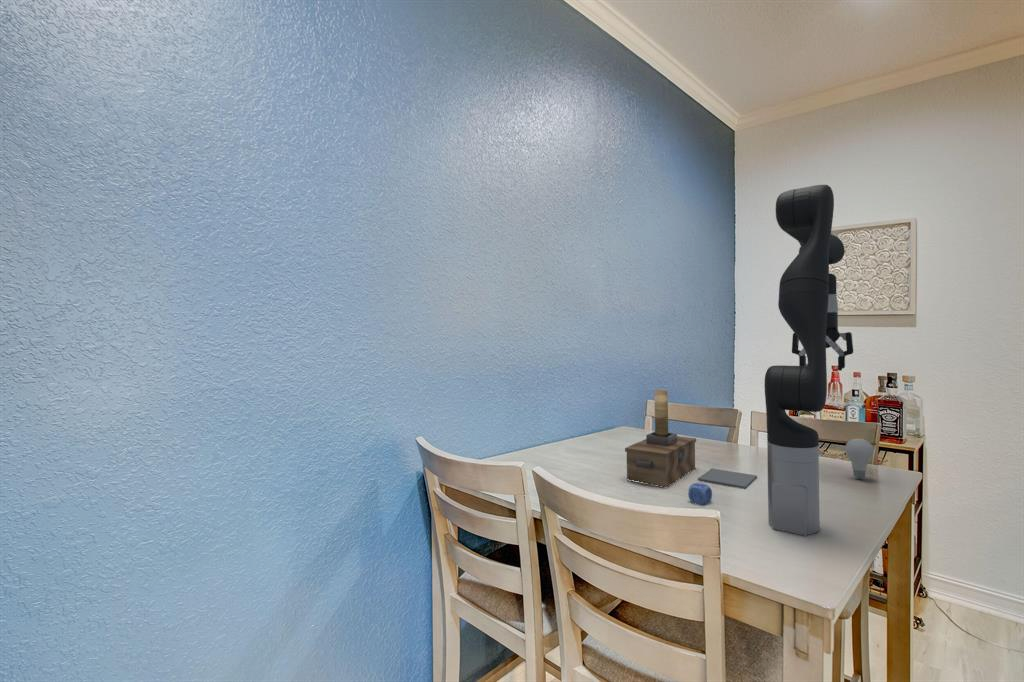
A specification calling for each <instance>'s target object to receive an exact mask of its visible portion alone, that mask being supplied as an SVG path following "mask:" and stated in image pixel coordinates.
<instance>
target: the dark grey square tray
mask: <svg viewBox="0 0 1024 682" xmlns="http://www.w3.org/2000/svg"><path fill="white" fill-rule="evenodd" d="M677 436H678V433H676V432H675V433H673V432H668V436H667V437H664V436H656V435H655V431H652V432H650V433H647V434H646V435H645V437H646V438H645V439H646V444H653V445H660V446H667V447H669V446H671V445H673V444H675V443H677Z"/></svg>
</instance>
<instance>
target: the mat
mask: <svg viewBox="0 0 1024 682" xmlns="http://www.w3.org/2000/svg"><path fill="white" fill-rule="evenodd" d="M757 478H758V475H756V474H751V473H750V474H749V473H744V472H737V471H733V470H732V471H731V470H724V469H718V468H712V467H711V469H709V470H708V471H706V472H705V473H703V474H702V475H701V476H699V477H698V478H697V481H698V480H699V482H703V481H704V482H705V483H709V484H714V483H716V484H715V485H720V484H721V485H720V486H726V485H727V487H731V486H732V487H733V488H737V487H738V489H743V488H744V489H743V490H746V489H747V488H748V487H749V486H750V485H751V484H752V483H753V482H754V481H756V479H757ZM704 482H703V483H704Z"/></svg>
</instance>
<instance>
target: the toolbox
mask: <svg viewBox="0 0 1024 682" xmlns="http://www.w3.org/2000/svg"><path fill="white" fill-rule="evenodd" d="M696 442H697V437H688V436H680V435H677V443H675V444H673V445H671V446H669V447H667V446H660V445H653V444H646V438H645V439H642V440H641V441H638V442H635V443H634V444H631V445H629V446H626V447H625V448H624V452H625V453H626V480H627V479H629V480H634V481H639V482H643V483H648V484H653V485H658V486H662V487H661V488H663V487H667V486H668V487H669V485H670V484H671V485H672V483H673V482H674V483H676V482H677V481H679V480H680V479H682V478H683V477H685V476H686V475H688V474H689V473H691V472H692V471H694V470H695V469H696ZM694 468H695V469H694ZM693 469H694V470H693ZM691 470H692V471H691ZM690 471H691V472H690ZM688 472H689V473H688ZM687 473H688V474H687ZM685 474H686V475H685ZM684 475H685V476H684ZM682 476H683V477H682ZM681 477H682V478H681ZM679 478H680V479H679ZM678 479H679V480H678ZM676 480H677V481H676ZM675 481H676V482H675ZM643 483H642V484H643ZM674 483H673V484H674ZM648 484H647V485H648ZM653 485H652V486H653ZM671 485H670V486H671ZM658 486H657V487H658ZM668 487H667V488H668Z"/></svg>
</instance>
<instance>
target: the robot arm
mask: <svg viewBox="0 0 1024 682" xmlns="http://www.w3.org/2000/svg"><path fill="white" fill-rule="evenodd" d="M834 197H835V196H834V191H833V189H832V187H831V186H829V185H828V184H816V185H811V186H805V187H800V188H793V189H789V190H787V191H783V192H781V193H780V194H779V195H778V196H777V198H776V202H775V220H776V222H777V224H778V226H779V228H780V229H781V230H782V231H783V232H785V233H786V234H787V235H789V236H790V237H792V238H793V239H795V240H796V241H797V242H798V243H799V245H800V246H799V249H798V254H797V255H796V256H795V258H794V259H793V260H792V261H791V263H790V264H789V265H788V266H787V267H786V269H785V270H784V272H783V273H782V274H781V277H780V280H779V288H778V300H777V301H778V304H777V306H778V310H779V313H780V315H781V316H782V318H783V319H784V321H785V322H786V323H787V325H788V326H789V328H790V329H791V331H793V334H792V340H791V341H792V343H791V353H792V354H793V355H794V354H795V355H798V359H799V362H798V363H799V365H779V364H778V365H771V366H769V367H768V368H767V370H766V372H765V376H764V398H765V399H764V400H765V411H766V412H765V414H766V431H767V432H766V433H767V435H766V438H767V441H766V442H767V445H766V447H767V507H768V508H767V509H768V510H767V511H768V512H767V514H768V516H767V517H768V518H767V519H768V524H769V525H771V528H772V529H774V530H778V531H783V532H788V533H791V534H796V535H800V536H806V537H807V536H808V535H812V534H816V533H818V532H820V530H821V529H820V528H821V527H820V522H821V520H820V518H821V517H820V512H821V511H820V461H819V460H820V456H819V455H820V447H819V445H820V444H819V443H820V442H819V441H820V439H819V438H820V437H819V433H818V431H816V429H814V428H811V427H809V426H807V425H805V424H803V423H801V422H798V421H796V420H795V419H793V418H791V417H790V416H789V415H788V413H787V412H786V411H796V412H806V413H807V412H808V413H809V412H811V413H812V412H813V413H818V412H821V411H823V409H824V408H825V407H826V406H825V405H826V402H827V395H828V394H827V393H828V378H827V377H828V376H827V374H828V373H827V371H828V369H827V349H829V348H831V349H832V350H834V351H835V353H837V355H838V357H837V371H839V372H841V371H843V369H844V368H845V367H846V356H850V355H852V354H853V353H854V345H853V344H854V343H853V333H852V332H850V331H848V332H840V331H839V326H838V325H839V321H838V317H839V315H838V314H839V307H838V304H839V303H838V296H837V277H836V275H835V273H834V274H833V273H830V265H834V264H837V263H839V262H841V261H842V259H843V258H844V257H845V252H846V250H845V246H844V242H843V241H842V240H841V239H840V238H839V237H838V236H836V235H834V234H833V233H832V229H833V221H834V219H833V218H834V210H835V208H834V207H835V198H834ZM840 337H841V338H842V340H843V341H845V343H846V350H843V349H842V348H841V347H840V345H839V344H838V343H837V341H838V340H839V339H840ZM799 342H800V344H801V345H802V347H803V348H802V349H801V350H800V349H799Z"/></svg>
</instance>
